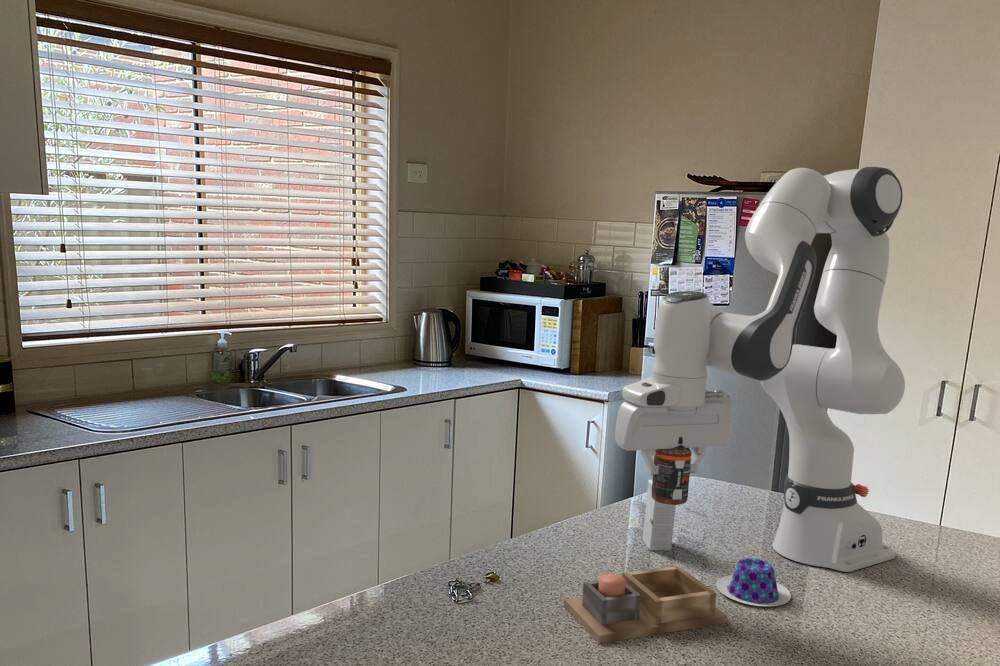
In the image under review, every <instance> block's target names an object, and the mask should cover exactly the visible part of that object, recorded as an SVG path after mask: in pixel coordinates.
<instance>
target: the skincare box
mask: <svg viewBox="0 0 1000 666" xmlns="http://www.w3.org/2000/svg"><path fill="white" fill-rule="evenodd" d="M651 491H652V479H648V480H647V489H646V497H645V498H646V499H645V510H644V522H643V532H642V540H643V541H644V544H645V546H646V547H647V549H648V548H649V549H650V551H653V550H670V551H672V545H673V535H674V526H675V517H676V506H677V505H669V504H663V503H659V502H657V501H655V500H654V499H653V498H652V496H651V494H652V492H651ZM649 549H648V550H649Z"/></svg>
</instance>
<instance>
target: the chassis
mask: <svg viewBox="0 0 1000 666" xmlns="http://www.w3.org/2000/svg"><path fill="white" fill-rule="evenodd" d="M621 576H622V577H623V578H624V579H625V580H626V582H625V595H620V596H613V597H606V598H605V597H604V596H603V595H602V594H601V593H600V592H599V591H598V589H599V579H598V580H592V581H584V582H583V583H582V585H583V587H582V596H577V597H571V598H570V597H569V598H565V599H564V600H563V608H565V610H566V611H567V612H568V613H569V614H570V613H571V614H572V615H573V616H572V615H571V614H570V615H571V616H572V617H573V618H574V619H575V620H576V621H577V622H578V624H580V625H581V626H582V627H583V629H584V630H586V632H587V633H588V634H589V635H590V636H591V637H592V638H593V639H594V640H595V641H596V642H597V644H604V643H609V642H610V643H611V642H616V641H623V640H629V639H635V638H636V639H637V638H641V637H647V636H654V635H661V634H666V633H672V632H679V631H685V630H690V629H697V628H702V627H709V626H715V625H719V624H721V625H723V624H727V621H728V620H727V619H728V614H726V613H725V612H723V611H722V610H721V609H719V608H718V607H716V603H717V601H716V600H717V592H715V591H714V590H713V589H711V588H710V587H708V586H707V585H706V584H704V583H703V582H702V581H700V580H699V579H697V578H696V577H695V576H694V575H692V574H690V573H689V572H688V571H687V570H685V569H684V568H682V567H681V566H680V565H675V566H667V567H658V568H652V569H651V568H650V569H649V568H648V569H643V570H634V571H628V572H622V573H621Z"/></svg>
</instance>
